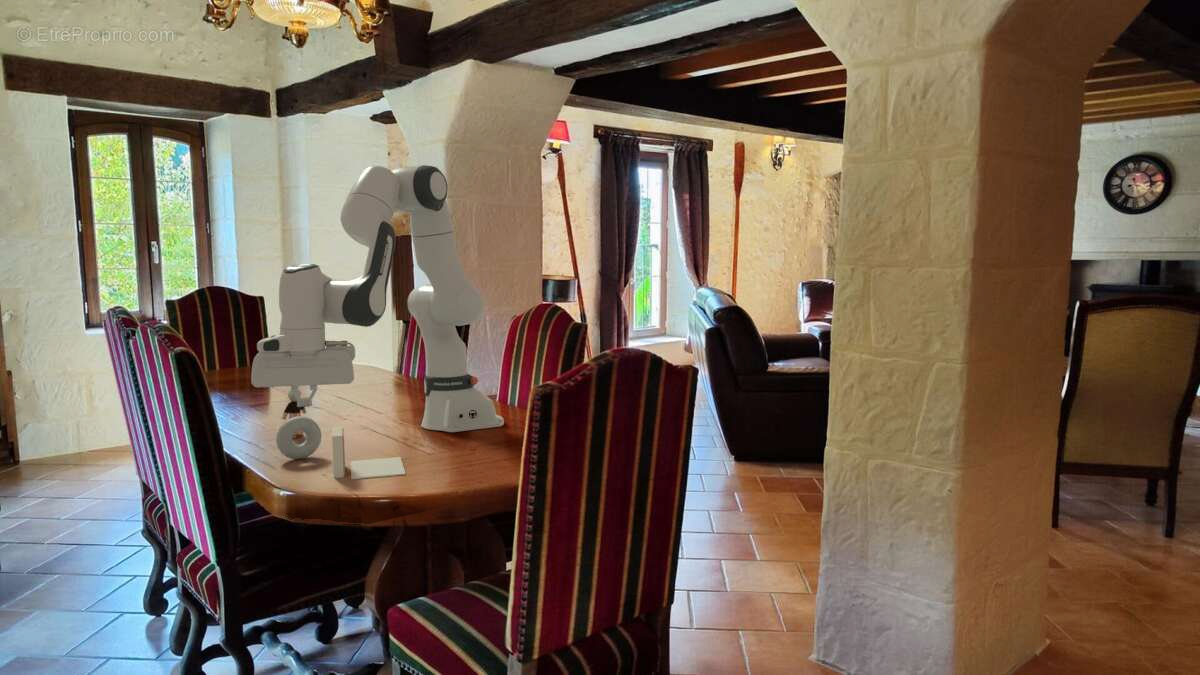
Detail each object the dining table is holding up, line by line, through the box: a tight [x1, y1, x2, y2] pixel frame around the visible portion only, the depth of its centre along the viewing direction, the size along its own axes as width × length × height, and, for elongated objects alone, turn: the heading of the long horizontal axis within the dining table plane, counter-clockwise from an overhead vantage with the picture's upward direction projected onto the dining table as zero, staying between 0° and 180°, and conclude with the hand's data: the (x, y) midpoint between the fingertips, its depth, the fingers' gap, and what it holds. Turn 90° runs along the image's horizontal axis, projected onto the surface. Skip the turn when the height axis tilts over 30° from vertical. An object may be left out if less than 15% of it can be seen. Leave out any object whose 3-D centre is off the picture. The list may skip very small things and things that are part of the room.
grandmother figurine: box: [281, 389, 307, 440], centre depth 195 cm, size 8×4×13 cm, turn 168°
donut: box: [275, 415, 322, 460], centre depth 173 cm, size 10×3×10 cm, turn 128°
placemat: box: [350, 456, 406, 480], centre depth 166 cm, size 11×14×1 cm
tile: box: [331, 426, 346, 479], centre depth 163 cm, size 2×9×9 cm, turn 19°
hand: (304, 406), depth 160 cm, fingers closed
